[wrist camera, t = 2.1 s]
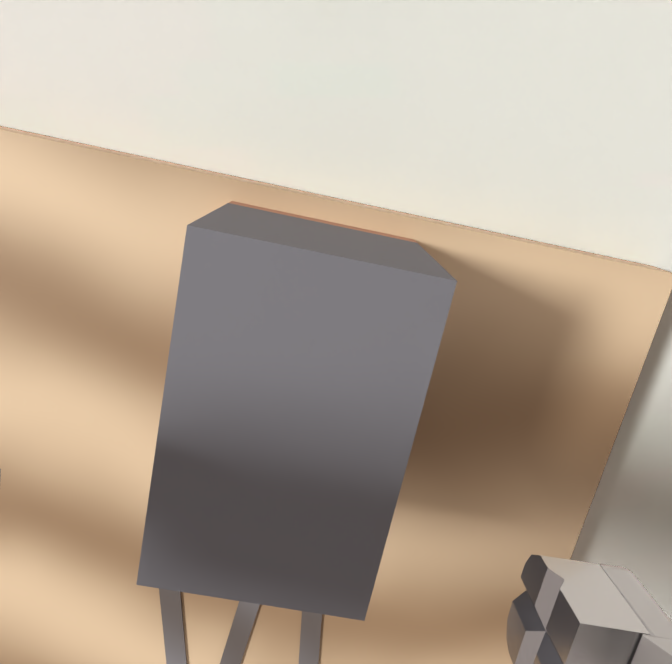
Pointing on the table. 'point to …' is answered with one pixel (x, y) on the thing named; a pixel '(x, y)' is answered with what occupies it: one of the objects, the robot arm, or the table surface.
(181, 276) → the block
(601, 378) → the board
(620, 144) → the table surface
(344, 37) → the table surface
